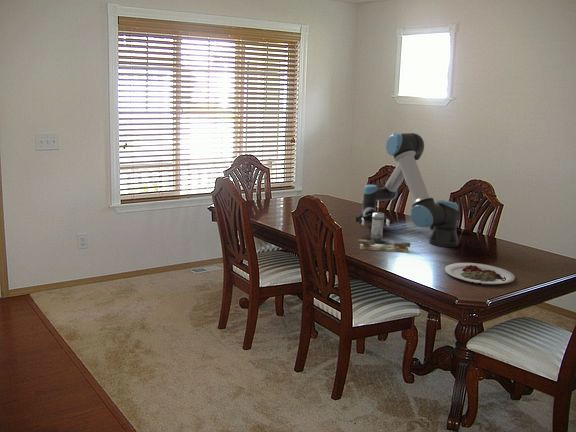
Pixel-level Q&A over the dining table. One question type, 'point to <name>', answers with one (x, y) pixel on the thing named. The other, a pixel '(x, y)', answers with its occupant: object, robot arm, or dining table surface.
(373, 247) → the shaft bench
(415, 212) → the robot arm
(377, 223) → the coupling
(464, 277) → the plated food
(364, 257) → the dining table surface
